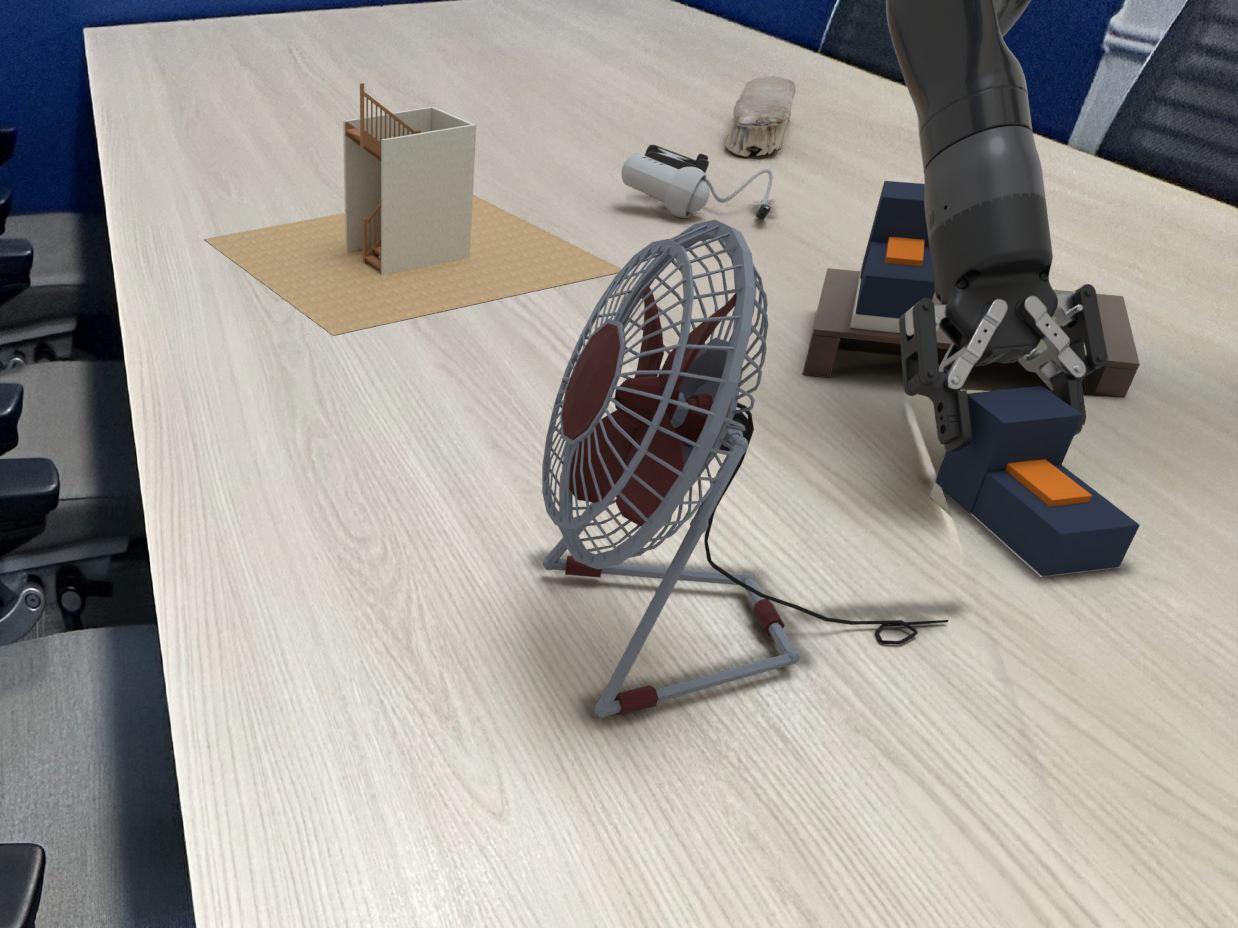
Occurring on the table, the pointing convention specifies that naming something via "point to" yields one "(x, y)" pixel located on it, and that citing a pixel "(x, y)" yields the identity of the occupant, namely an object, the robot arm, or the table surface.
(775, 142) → the shoe brush
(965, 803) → the table surface
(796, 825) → the table surface
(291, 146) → the table surface
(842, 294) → the shoe rack
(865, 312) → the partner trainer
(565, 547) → the desk fan
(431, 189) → the staircase
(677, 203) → the clip-on lamp
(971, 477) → the trainer
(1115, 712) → the table surface
